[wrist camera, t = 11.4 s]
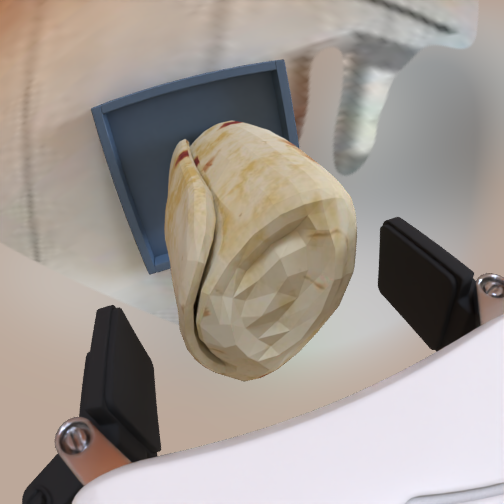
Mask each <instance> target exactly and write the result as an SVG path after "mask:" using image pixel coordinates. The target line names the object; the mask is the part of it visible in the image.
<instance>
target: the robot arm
mask: <svg viewBox="0 0 504 504" xmlns="http://www.w3.org/2000/svg"><path fill="white" fill-rule="evenodd" d="M473 275H474V272H473V271H471V270H470V269H469V268H468V267H466V266H465V265H464V264H463V263H461V262H460V261H459V260H457V259H456V258H455V257H454V256H452V255H451V254H450V253H448V252H447V251H446V250H444V249H443V248H442V247H440V246H439V245H438V244H436V243H435V242H434V241H432V240H431V239H429V238H428V237H427V236H426V235H424V234H422V233H421V232H420V231H419V230H417V229H416V228H414V227H413V226H412V225H410V224H408V223H407V222H406V221H404V220H403V219H401V218H400V217H396V218H393V219H389V220H386V221H385V222H384V223H383V226H382V227H381V228H380V253H379V275H378V288H379V290H380V293H381V294H382V295H383V296H384V297H385V298H386V299H387V300H388V301H389V302H390V303H391V305H392V306H393V307H394V308H395V309H396V310H397V311H398V312H399V314H400V315H401V316H402V317H403V318H404V319H405V320H406V321H407V322H408V324H409V325H410V326H411V327H412V328H413V329H414V330H415V332H416V333H417V334H418V335H419V336H420V337H421V338H422V339H423V341H424V342H425V343H426V344H427V345H428V346H429V348H430V349H432V350H436V351H437V352H436V353H434V354H432V355H430V356H428V357H427V358H425V359H423V360H421V361H419V362H417V363H416V364H414V365H412V366H410V367H408V368H406V369H404V370H402V371H400V372H398V373H396V374H394V375H392V376H390V377H388V378H386V379H385V380H382V381H380V382H378V383H376V384H374V385H372V386H370V387H367V388H365V389H363V390H361V391H359V392H356V393H354V394H352V395H350V396H347V397H345V398H343V399H340V400H338V401H336V402H333V403H331V404H329V405H326V406H323V407H321V408H318V409H316V410H313V411H311V412H308V413H305V414H303V415H300V416H297V417H295V418H292V419H289V420H286V421H284V422H281V423H278V424H275V425H272V426H269V427H266V428H263V429H260V430H256V431H253V432H250V433H247V434H243V435H240V436H237V437H233V438H229V439H226V440H222V441H218V442H214V443H211V444H207V445H203V446H199V447H196V448H191V449H187V450H183V451H179V452H174V453H170V454H165V455H161V456H157V452H158V451H160V450H161V443H160V436H159V435H160V434H159V425H158V415H157V406H156V405H157V404H156V393H155V381H154V380H155V379H154V367H153V364H152V361H151V359H150V357H149V356H148V354H147V352H146V351H145V349H144V347H143V346H142V344H141V343H140V341H139V339H138V337H137V336H136V334H135V332H134V330H133V329H132V327H131V325H130V323H129V321H128V320H127V318H126V316H125V314H124V313H123V311H122V309H121V308H116V307H115V306H114V305H111V306H107V307H104V308H100V309H98V310H97V313H96V319H95V325H94V330H93V336H92V343H91V350H90V352H89V353H87V356H86V362H85V369H84V376H83V384H82V393H81V403H80V414H79V417H74V418H71V419H68V420H67V421H66V422H64V423H63V424H62V425H61V426H60V428H59V429H58V431H57V433H56V436H55V448H56V450H57V452H58V454H57V455H56V456H55V457H54V458H53V459H52V461H51V462H50V463H49V464H48V465H47V466H46V467H45V468H44V469H43V470H42V472H41V473H40V474H39V475H38V476H37V477H36V478H35V479H34V480H33V481H32V483H31V484H30V485H29V486H28V487H27V489H26V490H25V492H24V494H23V499H22V504H504V277H502V276H500V275H497V274H492V273H486V274H483V275H481V276H480V277H478V279H477V280H476V281H475V280H474V279H473Z"/></svg>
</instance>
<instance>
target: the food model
mask: <svg viewBox="0 0 504 504" xmlns="http://www.w3.org/2000/svg"><path fill="white" fill-rule="evenodd" d="M164 230H165V241H166V246H167V250H168V255H169V260H170V266H171V275H172V282H173V287H174V292H175V296H176V302H177V307H178V315H179V326H180V332H181V334H182V337H183V340H184V342H185V345H186V347H187V350H188V351H189V352H190V353H191V355H192V356H193V357H194V358H195V359H196V360H197V361H198V362H199V363H200V364H202V365H203V366H204V367H205V368H207V369H209V370H211V371H213V372H215V373H218V374H222V375H225V376H228V377H231V378H235V379H238V380H241V381H248V380H253V379H257V378H261V377H263V376H265V375H267V374H269V373H271V372H273V371H275V370H277V369H278V368H280V367H281V366H282V365H284V364H285V363H286V362H287V361H289V360H290V359H291V358H292V357H294V356H295V355H296V354H297V353H298V352H299V351H300V350H301V349H302V348H303V347H304V346H305V345H306V344H307V343H308V342H309V341H310V340H311V339H312V337H313V336H314V335H315V334H316V333H317V332H318V331H319V329H320V328H321V327H322V326H323V325H324V323H325V322H326V321H327V320H328V319H329V317H330V316H331V315H332V314H333V313H334V311H335V310H336V309H337V308H338V306H339V305H340V302H341V300H342V297H343V295H344V293H345V291H346V288H347V286H348V284H349V281H350V279H351V276H352V274H353V271H354V264H355V255H356V242H357V226H356V213H355V209H354V206H353V202H352V199H351V197H350V195H349V194H348V193H347V192H346V190H345V189H344V188H343V187H342V185H341V184H340V183H339V182H338V180H336V179H335V178H334V177H333V176H332V175H331V174H330V173H329V172H328V171H326V170H325V169H324V168H323V167H322V166H321V165H319V164H318V163H317V162H315V161H314V160H313V159H312V158H310V157H309V156H308V155H306V154H305V153H304V152H303V151H301V150H300V149H299V148H298V147H296V146H295V145H294V144H292V143H290V142H289V141H287V140H286V139H284V138H282V137H280V136H278V135H276V134H275V133H273V132H271V131H269V130H267V129H263V128H260V127H257V126H254V125H251V124H247V123H244V122H238V121H227V122H222V123H218V124H216V125H214V126H212V127H211V128H209V129H207V130H206V131H204V132H203V133H202V134H201V135H200V136H199V137H198V138H197V139H196V140H195V141H194V142H193V143H192V145H191V146H189V142H188V141H187V140H186V139H184V140H182V141H180V142H179V143H178V144H177V146H176V148H175V150H174V152H173V155H172V159H171V163H170V170H169V183H168V198H167V204H166V210H165V228H164Z"/></svg>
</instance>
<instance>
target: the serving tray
mask: <svg viewBox="0 0 504 504" xmlns="http://www.w3.org/2000/svg"><path fill="white" fill-rule="evenodd" d="M91 111H92V114H93V118H94V121H95V125H96V128H97V132H98V135H99V138H100V142H101V145H102V148H103V151H104V154H105V158H106V161H107V164H108V167H109V170H110V173H111V176H112V179H113V182H114V185H115V188H116V190H117V193H118V196H119V199H120V202H121V204H122V207H123V210H124V213H125V215H126V218H127V221H128V223H129V226H130V228H131V231H132V234H133V236H134V239H135V241H136V244H137V246H138V249H139V251H140V254H141V256H142V259H143V261H144V263H145V266H146V268H147V271H148V273H149V274H153V273H156V272H160V271H164V270H167V269H170V268H171V266H170V260H169V255H168V250H167V246H166V241H165V230H164V228H165V210H166V204H167V198H168V183H169V170H170V163H171V159H172V155H173V152H174V150H175V148H176V146H177V144H178V143H179V142H180V141H182V140H184V139H186V140H187V141H188V142H189V146H191V145H192V143H193V142H194V141H195V140H196V139H197V138H198V137H199V136H200V135H201V134H202V133H203V132H204V131H206V130H207V129H209V128H211V127H212V126H214V125H216V124H218V123H222V122H227V121H238V122H244V123H247V124H251V125H254V126H257V127H260V128H263V129H267V130H269V131H271V132H273V133H275V134H276V135H278V136H280V137H282V138H284V139H286V140H287V141H289V142H290V143H292V144H294V145H295V146H296V147H298V148H299V143H298V137H297V130H296V124H295V118H294V112H293V106H292V100H291V94H290V89H289V83H288V77H287V72H286V67H285V62H284V60H276V61H269V62H262V63H256V64H250V65H244V66H239V67H233V68H228V69H223V70H219V71H214V72H209V73H205V74H201V75H196V76H192V77H188V78H184V79H180V80H177V81H173V82H169V83H166V84H162V85H159V86H155V87H152V88H149V89H145V90H142V91H139V92H136V93H133V94H130V95H127V96H124V97H121V98H118V99H115V100H112V101H109V102H107V103H104V104H101V105H99V106H96V107H93V108H91Z"/></svg>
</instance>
